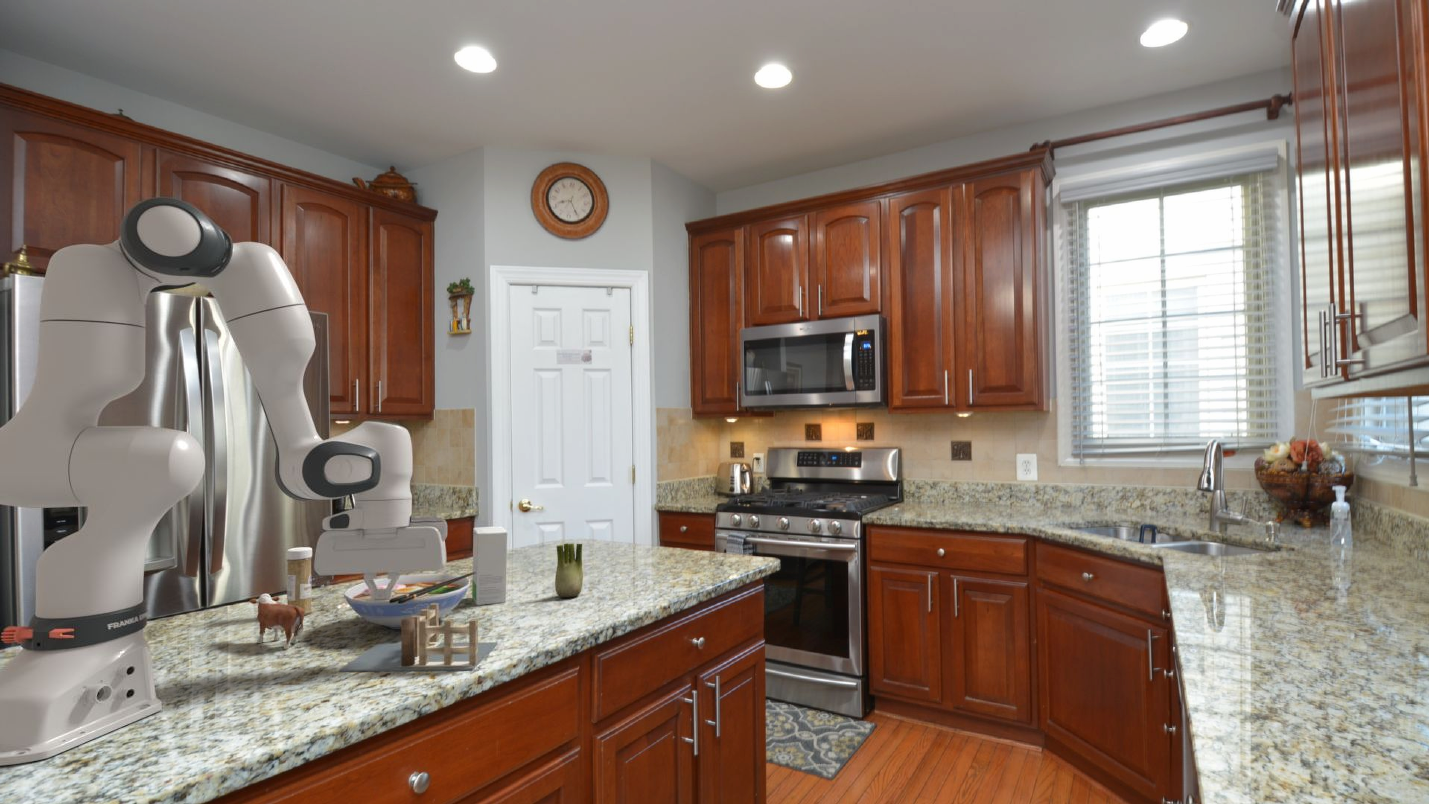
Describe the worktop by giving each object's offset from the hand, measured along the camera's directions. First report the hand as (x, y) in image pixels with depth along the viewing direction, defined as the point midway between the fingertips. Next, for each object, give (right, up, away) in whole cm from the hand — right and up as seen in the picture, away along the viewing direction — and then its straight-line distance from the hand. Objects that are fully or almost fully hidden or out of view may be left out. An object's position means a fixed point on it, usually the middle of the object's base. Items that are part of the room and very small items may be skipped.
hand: (381, 600), depth 119 cm
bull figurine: (-22, -10, +8) cm, 26 cm away
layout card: (+7, -9, -1) cm, 12 cm away
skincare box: (+6, -11, +37) cm, 39 cm away
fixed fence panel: (+13, -9, -5) cm, 17 cm away
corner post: (+7, -9, -5) cm, 13 cm away
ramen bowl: (-3, -10, +19) cm, 22 cm away
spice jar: (-29, -11, +27) cm, 41 cm away
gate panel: (+7, -9, +1) cm, 11 cm away
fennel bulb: (+23, -10, +39) cm, 47 cm away
